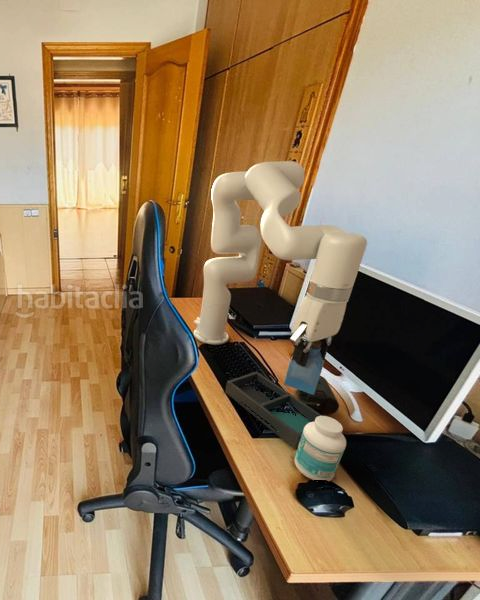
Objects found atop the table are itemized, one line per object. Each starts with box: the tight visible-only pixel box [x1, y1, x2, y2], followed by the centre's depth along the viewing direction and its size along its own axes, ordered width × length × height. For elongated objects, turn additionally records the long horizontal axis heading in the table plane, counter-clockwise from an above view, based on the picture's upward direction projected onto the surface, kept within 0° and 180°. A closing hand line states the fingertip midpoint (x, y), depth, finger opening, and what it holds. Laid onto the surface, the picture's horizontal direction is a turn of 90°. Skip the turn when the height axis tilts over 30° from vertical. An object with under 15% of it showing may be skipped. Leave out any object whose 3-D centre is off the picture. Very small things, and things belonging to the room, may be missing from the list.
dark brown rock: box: [295, 375, 340, 416], centre depth 90 cm, size 10×7×7 cm
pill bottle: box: [293, 415, 347, 482], centre depth 71 cm, size 8×7×14 cm
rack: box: [224, 371, 322, 450], centre depth 89 cm, size 22×12×4 cm, turn 21°
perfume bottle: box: [283, 340, 325, 395], centre depth 78 cm, size 6×6×12 cm
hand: (307, 359), depth 78 cm, fingers closed on perfume bottle, 5 cm apart
